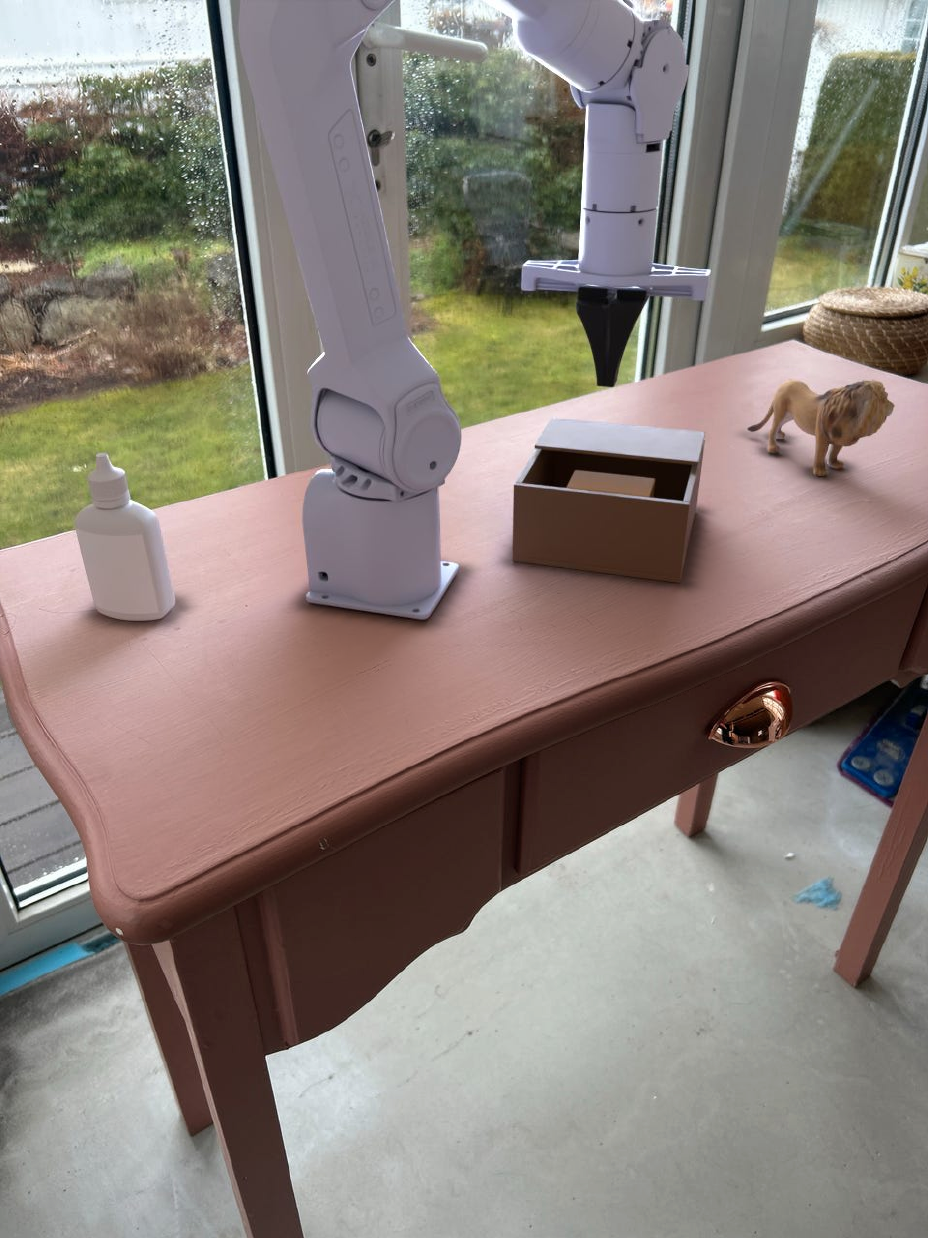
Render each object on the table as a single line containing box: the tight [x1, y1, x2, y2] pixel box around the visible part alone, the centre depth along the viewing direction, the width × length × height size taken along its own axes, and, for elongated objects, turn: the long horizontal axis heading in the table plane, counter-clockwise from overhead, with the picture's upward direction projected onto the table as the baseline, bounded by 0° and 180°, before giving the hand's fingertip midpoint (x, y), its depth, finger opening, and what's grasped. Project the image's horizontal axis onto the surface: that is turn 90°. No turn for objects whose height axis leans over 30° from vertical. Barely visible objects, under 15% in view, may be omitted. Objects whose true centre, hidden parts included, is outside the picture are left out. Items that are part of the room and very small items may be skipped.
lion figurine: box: [746, 379, 895, 477], centre depth 89 cm, size 15×5×9 cm, turn 33°
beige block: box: [566, 470, 655, 498], centre depth 76 cm, size 6×4×5 cm, turn 73°
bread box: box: [511, 439, 706, 584], centre depth 77 cm, size 13×13×6 cm
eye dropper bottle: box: [74, 452, 176, 622], centre depth 66 cm, size 4×6×12 cm
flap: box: [534, 417, 706, 465], centre depth 77 cm, size 13×6×1 cm, turn 73°
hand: (607, 383), depth 79 cm, fingers closed
